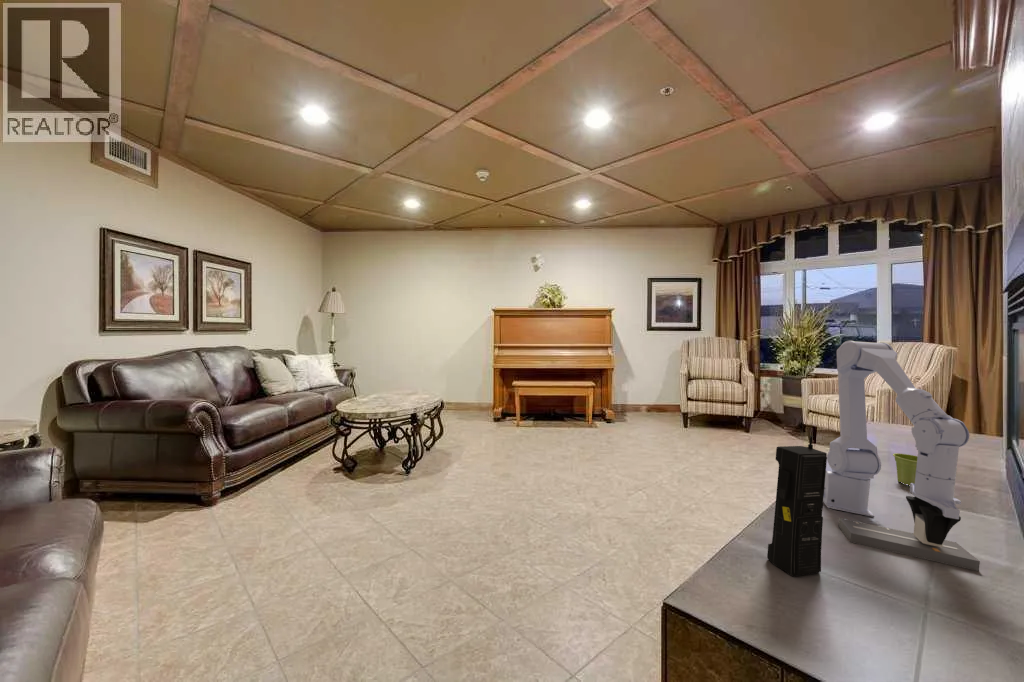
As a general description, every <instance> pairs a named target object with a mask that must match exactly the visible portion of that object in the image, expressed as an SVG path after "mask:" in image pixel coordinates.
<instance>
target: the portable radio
mask: <svg viewBox="0 0 1024 682" xmlns="http://www.w3.org/2000/svg"><path fill="white" fill-rule="evenodd" d="M813 438H814V436H813V435H809V444H808V445H807V446H803V445H790V446H788V445H787V446H786V445H785V446H776V449H775V450H776V451H775V461H777V463H778V471H777V473H778V474H777V485H776V496H775V506H774V507H775V508H774V516H773V517H774V519H773V528H772V538H771V539H772V540H771V543H768V545H767V553H766V554H767V555H766V557H767V560H768V561H770V562H771V563H772V564H773V565H774V566H776V567H777V568H779V569H780V570H782V571H784V572H785V573H787V574H788V575H789V576H791V577H800V576H806V575H807V576H808V575H813V574H815V575H816V574H819V573H820V572H821V571H822V545H823V544H822V541H823V538H822V537H823V526H824V523H823V522H824V517H823V506H824V502H823V496H824V486H825V475H826V471H827V463H828V461H827V455H828V453H827V452H824V451H822V450H818V449H816V448H814V445H813V444H812V443H813Z"/></svg>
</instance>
